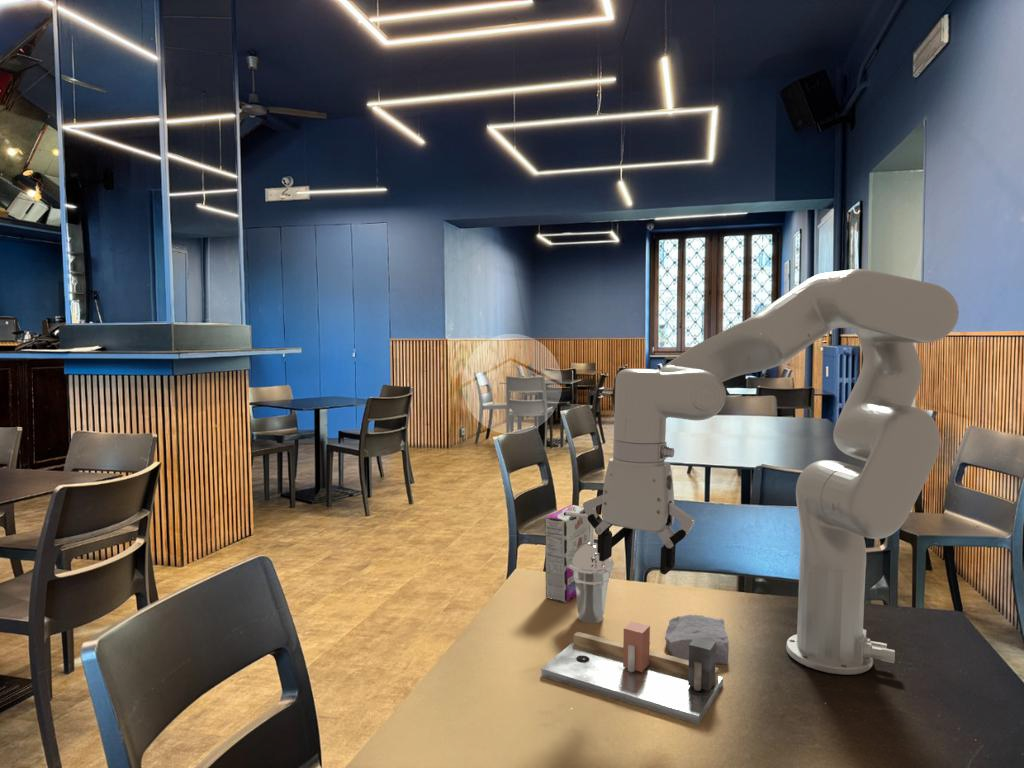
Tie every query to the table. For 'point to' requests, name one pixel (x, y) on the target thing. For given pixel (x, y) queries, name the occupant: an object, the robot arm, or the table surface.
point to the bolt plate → (631, 683)
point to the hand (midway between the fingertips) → (634, 565)
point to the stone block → (696, 635)
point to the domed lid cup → (590, 578)
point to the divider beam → (668, 658)
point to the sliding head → (636, 646)
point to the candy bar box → (563, 550)
